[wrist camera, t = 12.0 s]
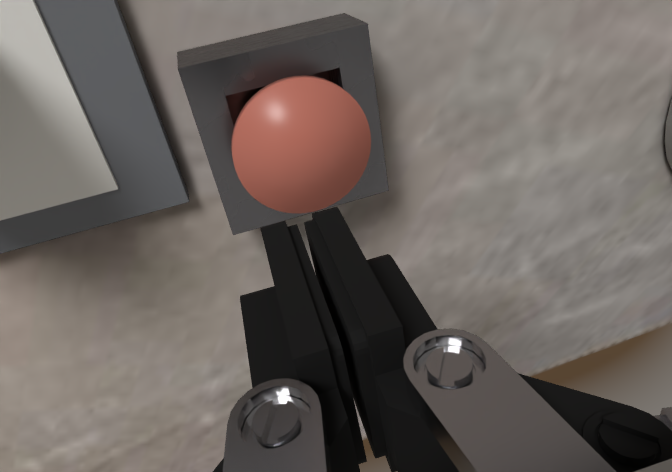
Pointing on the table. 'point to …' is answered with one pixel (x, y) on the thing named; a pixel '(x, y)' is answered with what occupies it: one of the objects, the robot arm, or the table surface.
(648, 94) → the table surface
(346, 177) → the button
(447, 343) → the robot arm
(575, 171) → the table surface
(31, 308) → the table surface
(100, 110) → the desk mat
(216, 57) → the button housing
